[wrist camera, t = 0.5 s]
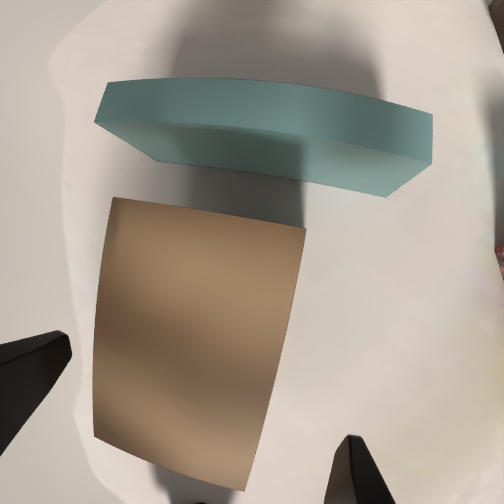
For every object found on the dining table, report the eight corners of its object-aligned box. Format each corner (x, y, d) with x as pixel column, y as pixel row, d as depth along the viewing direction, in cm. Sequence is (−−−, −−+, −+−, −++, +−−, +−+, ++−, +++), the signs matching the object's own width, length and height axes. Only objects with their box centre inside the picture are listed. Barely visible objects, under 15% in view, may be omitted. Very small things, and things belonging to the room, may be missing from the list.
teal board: (385, 197, 24) (431, 163, 14) (157, 161, 27) (94, 122, 17) (389, 163, 24) (432, 114, 14) (165, 131, 27) (107, 82, 17)
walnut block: (273, 383, 25) (244, 491, 11) (185, 360, 26) (94, 436, 12) (304, 243, 25) (306, 228, 11) (208, 226, 26) (112, 196, 12)
